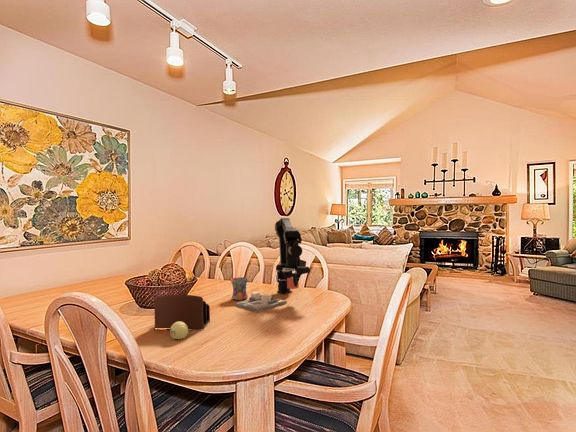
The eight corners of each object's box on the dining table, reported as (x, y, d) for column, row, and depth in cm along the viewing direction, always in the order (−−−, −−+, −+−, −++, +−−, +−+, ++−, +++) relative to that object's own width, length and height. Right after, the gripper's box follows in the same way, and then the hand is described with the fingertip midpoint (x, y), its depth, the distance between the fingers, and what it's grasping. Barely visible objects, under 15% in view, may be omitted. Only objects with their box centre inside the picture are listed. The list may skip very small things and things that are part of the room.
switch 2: (265, 301, 168) (265, 294, 168) (270, 302, 165) (270, 295, 165) (261, 302, 166) (261, 295, 166) (266, 303, 163) (265, 296, 163)
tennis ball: (167, 320, 125) (175, 324, 120) (184, 318, 130) (192, 322, 125) (165, 338, 124) (174, 342, 120) (182, 335, 129) (191, 340, 124)
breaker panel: (264, 297, 180) (264, 292, 180) (286, 303, 168) (286, 297, 168) (235, 305, 166) (235, 299, 166) (257, 312, 155) (257, 306, 155)
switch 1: (255, 298, 173) (255, 291, 173) (260, 299, 171) (259, 292, 171) (251, 299, 171) (250, 292, 171) (255, 301, 169) (255, 293, 169)
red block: (292, 286, 171) (292, 276, 171) (298, 287, 168) (298, 277, 168) (287, 288, 168) (287, 278, 168) (293, 289, 165) (292, 279, 165)
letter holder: (203, 330, 133) (202, 295, 133) (154, 330, 134) (153, 295, 134) (210, 322, 143) (209, 289, 143) (164, 322, 144) (163, 289, 143)
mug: (244, 301, 173) (243, 281, 173) (227, 300, 176) (227, 280, 176) (253, 295, 185) (252, 276, 185) (237, 295, 188) (237, 276, 187)
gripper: (316, 254, 167) (317, 285, 167) (290, 251, 180) (290, 280, 180) (301, 256, 159) (302, 289, 159) (274, 254, 172) (275, 284, 172)
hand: (292, 285), depth 168 cm, fingers closed on red block, 4 cm apart
